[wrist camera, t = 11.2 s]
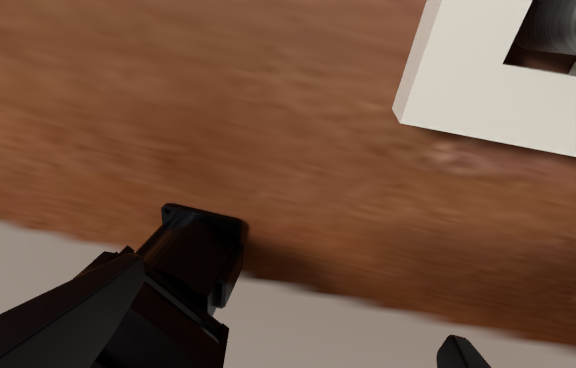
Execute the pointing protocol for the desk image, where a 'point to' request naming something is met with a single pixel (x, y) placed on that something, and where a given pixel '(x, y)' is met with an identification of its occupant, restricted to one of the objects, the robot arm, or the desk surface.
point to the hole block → (484, 79)
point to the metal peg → (549, 27)
